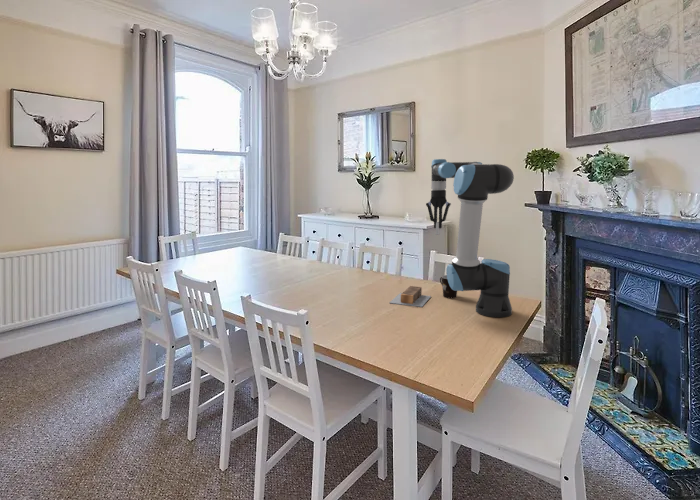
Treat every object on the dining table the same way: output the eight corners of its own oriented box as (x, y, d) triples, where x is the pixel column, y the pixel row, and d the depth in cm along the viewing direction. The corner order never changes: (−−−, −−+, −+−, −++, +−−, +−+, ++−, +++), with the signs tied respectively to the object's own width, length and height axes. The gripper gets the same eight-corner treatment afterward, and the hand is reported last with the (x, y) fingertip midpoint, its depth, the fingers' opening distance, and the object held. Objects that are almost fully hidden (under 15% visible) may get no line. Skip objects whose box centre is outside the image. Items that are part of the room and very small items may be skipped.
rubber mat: (430, 296, 203) (430, 296, 203) (422, 307, 187) (422, 306, 187) (400, 293, 210) (400, 292, 210) (389, 303, 194) (389, 302, 194)
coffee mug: (460, 298, 199) (461, 279, 197) (443, 299, 199) (443, 279, 197) (454, 292, 210) (455, 273, 209) (438, 292, 211) (438, 273, 209)
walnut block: (421, 287, 205) (412, 295, 191) (421, 294, 206) (412, 303, 191) (410, 286, 207) (400, 294, 193) (410, 293, 208) (400, 302, 194)
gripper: (452, 189, 211) (451, 234, 215) (427, 189, 216) (427, 233, 220) (449, 189, 204) (448, 236, 208) (424, 189, 209) (423, 234, 213)
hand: (437, 234), depth 214 cm, fingers closed
